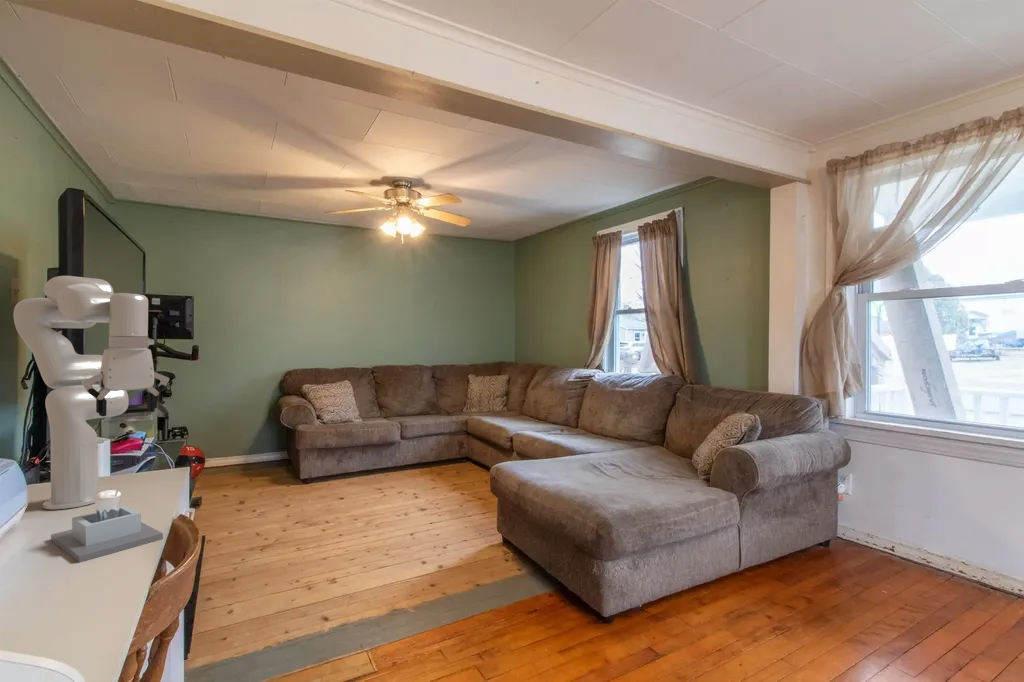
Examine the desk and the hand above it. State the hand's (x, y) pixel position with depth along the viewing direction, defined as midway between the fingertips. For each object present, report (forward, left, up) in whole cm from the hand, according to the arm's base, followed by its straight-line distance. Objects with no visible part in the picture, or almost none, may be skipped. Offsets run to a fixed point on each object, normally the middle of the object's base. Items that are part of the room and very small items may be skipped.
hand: (127, 413), depth 121 cm
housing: (+13, -8, -26) cm, 30 cm away
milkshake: (+13, -7, -25) cm, 29 cm away
